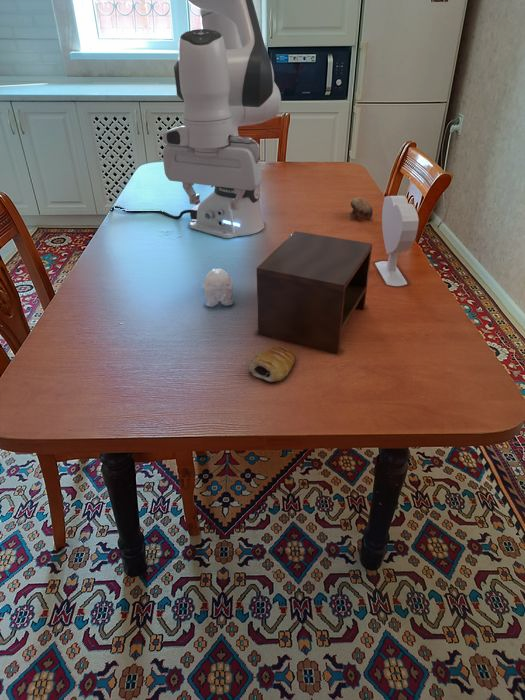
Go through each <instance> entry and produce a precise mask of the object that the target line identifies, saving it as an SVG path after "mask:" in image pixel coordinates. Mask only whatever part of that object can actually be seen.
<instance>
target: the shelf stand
mask: <svg viewBox="0 0 525 700" xmlns="http://www.w3.org/2000/svg"><path fill="white" fill-rule="evenodd" d="M372 249H373V243H370V242H365V241H358V240H354V239H353V240H352V239H345V238H340V237H333V236H328V235H321V234H315V233H310V232H309V233H308V232H304V231H297V230H294V231H293V232H292V233H291V234H290V235H289V236H288V237H287V238H286V239H285V240H284V241H283V242H282V243H281V244H280V245H279V246H277V248H276V249H274V251H273V252H272V253H270V254H269V255H268V256H267V257H266V258H265V259H264V260H263V261H262V262H261V263H260V264H259V265H257V267H256V292H257V293H256V298H257V334H258V335H260V336H264V337H268V338H272V339H275V340H276V339H277V340H280V341H284V342H287V343H292V344H296V345H301V346H303V347H308V348H311V349H317V350H320V351H324V352H328V353H332V354H336V355H338V354H339V353H340V349H341V340H342V332H343V330H344V328H345V327H346V325H347V323H348V321H349V320H350V318H351V316H352V315H353V313H354V312H355V310H356V309H359V310H364V309H365V306H366V299H367V298H366V297H367V290H368V284H369V283H368V282H369V275H370V266H371V257H372Z"/></svg>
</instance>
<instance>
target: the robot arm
mask: <svg viewBox="0 0 525 700" xmlns="http://www.w3.org/2000/svg"><path fill="white" fill-rule="evenodd" d="M186 1H187V2H188V3H190V4H191V5H192V6H193V7H195V8H197V9H199V16H200V17H199V18H200V23H201V28H199V29H197V28H196V29H192V30H188V31H185V32H183V33H182V34H181V35H180V37H179V39H178V60H177V61H176V62H175V64H174V66H173V72H174V79H175V89H176V96H177V97H178V98H179V99H180V100H181V101H182V102H183V104H184V105H183V107H184V108H183V116H182V117H183V123H181V124H178V125H177V126H176V127H173V128H170V129H168V130H165V131H164V132H162V135H161V137H162V141H163V143H164V144H165V146H164V147H163V150H162V160H163V170H164V175H165V177H166V178H167V179H168V181H170V182H178V183H182V188H183V190H184V192H185V193H186V195H187V196H188V201H189V205H193V206H192V207H191V208H190V209H184V210H182V211H181V212H179V214H178V215H173V214H171V213H168V212H166V211H164V210H160V211H125V210H120V209H126V208H125V207H123V206H120V205H115V206H112V207H111V208H110V209H109V212H114V211H115V210H116V209H114V207H115V208H120V209H118V210H120V211H122V212H124V213H127V214H161V215H164V216H165V217H168V218H171V219H174V220H180V219H182V217H183V215H185V214H189V216H190V220H191V221H190V222H189V228H190V229H193V230H196V231H199V232H202V233H207V234H209V235H213V236H216V237H220V238H223V239H232V238H235V237H243V236H250V235H254V234H257V233H259V232H261V231H262V230H264V228H265V223H264V220H263V216H262V211H261V204H260V198H261V188H260V186H261V184H262V182H263V174H262V165H261V146H260V144H259V143H258V142H257V141H256V140H255V139H253V137H251V136H240V134H239V127H244V126H253V125H259V124H262V123H266V122H268V121H271V120H274V119H275V118H276V117H277V116H278V114H279V112H280V110H281V106H282V95H281V91H280V89H279V87H278V84H276V82H275V73H274V68H273V64H272V61H271V58H270V54H269V53H268V49H267V47H266V44H265V40H264V38H263V33H262V29H261V26H260V23H259V22H260V21H259V18H258V13H257V11H256V6H255V4H254V0H186ZM194 185H203V186H209V187H210V186H211V188H213V187H214V190H213V192H211V193H210V194H209V195H208V196H206V197H205V198H204V199H203V200H202V201H201V199H200V196H201V195H200V194H199V193H197V192H196V190H195V189H194V187H193V186H194ZM111 209H112V210H111ZM162 211H163V212H162Z"/></svg>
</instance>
